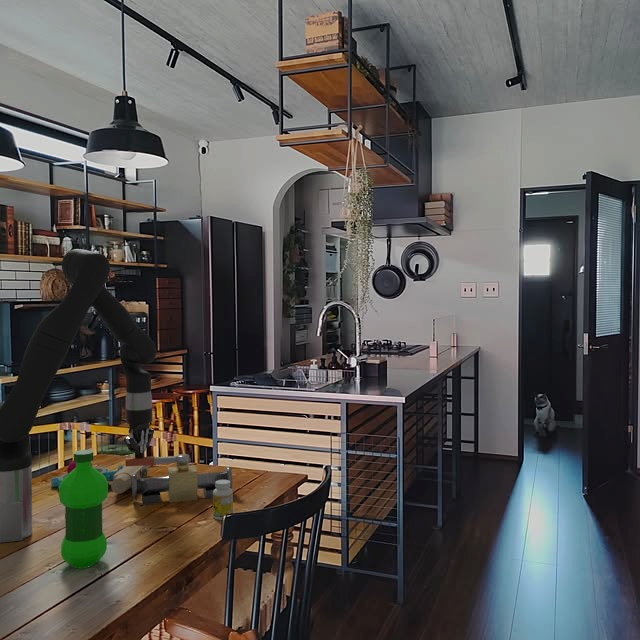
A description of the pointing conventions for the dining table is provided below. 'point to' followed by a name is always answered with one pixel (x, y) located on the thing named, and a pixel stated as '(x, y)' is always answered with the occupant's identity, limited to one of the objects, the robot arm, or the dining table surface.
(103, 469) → the butterfly valve
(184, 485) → the pipe valve
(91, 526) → the plastic bottle
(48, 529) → the dining table surface
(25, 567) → the dining table surface
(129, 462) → the valve lever
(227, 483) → the supplement bottle
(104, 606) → the dining table surface
